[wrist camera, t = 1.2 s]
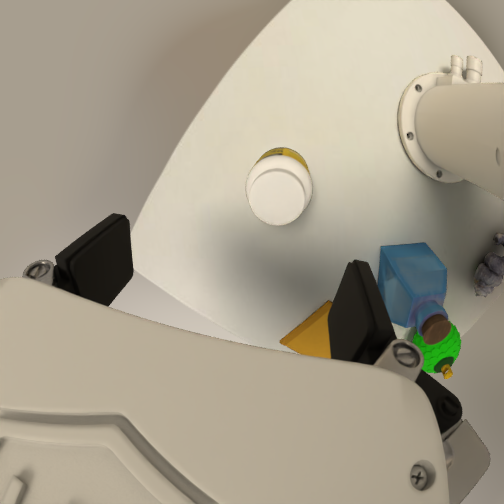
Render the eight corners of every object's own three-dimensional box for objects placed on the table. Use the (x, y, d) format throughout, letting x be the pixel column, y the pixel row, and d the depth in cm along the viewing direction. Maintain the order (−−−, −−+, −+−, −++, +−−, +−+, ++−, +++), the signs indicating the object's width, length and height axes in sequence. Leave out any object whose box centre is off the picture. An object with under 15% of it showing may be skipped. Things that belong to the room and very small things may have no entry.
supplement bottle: (283, 135, 25) (280, 144, 17) (318, 175, 27) (332, 204, 18) (244, 170, 27) (223, 196, 19) (279, 206, 29) (274, 249, 20)
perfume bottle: (380, 246, 29) (416, 312, 19) (425, 242, 28) (471, 302, 18) (377, 289, 32) (402, 360, 22) (418, 284, 31) (453, 349, 20)
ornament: (435, 298, 32) (462, 348, 23) (455, 321, 33) (479, 366, 24) (395, 333, 35) (412, 385, 27) (419, 351, 37) (435, 398, 28)
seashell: (496, 225, 26) (464, 280, 31) (501, 230, 22) (464, 292, 28) (520, 245, 23) (487, 299, 29) (527, 253, 20) (489, 313, 25)
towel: (279, 340, 38) (279, 342, 38) (328, 300, 34) (329, 302, 33) (334, 370, 41) (334, 373, 40) (381, 338, 36) (382, 340, 36)
